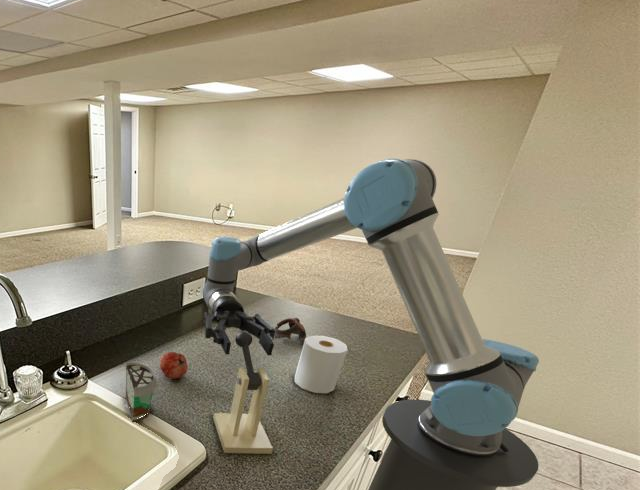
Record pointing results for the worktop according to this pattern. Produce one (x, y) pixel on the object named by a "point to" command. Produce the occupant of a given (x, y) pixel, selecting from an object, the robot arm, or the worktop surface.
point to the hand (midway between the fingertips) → (249, 349)
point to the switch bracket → (244, 419)
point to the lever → (248, 359)
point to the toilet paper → (320, 364)
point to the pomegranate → (173, 365)
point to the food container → (139, 390)
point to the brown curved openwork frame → (291, 329)
